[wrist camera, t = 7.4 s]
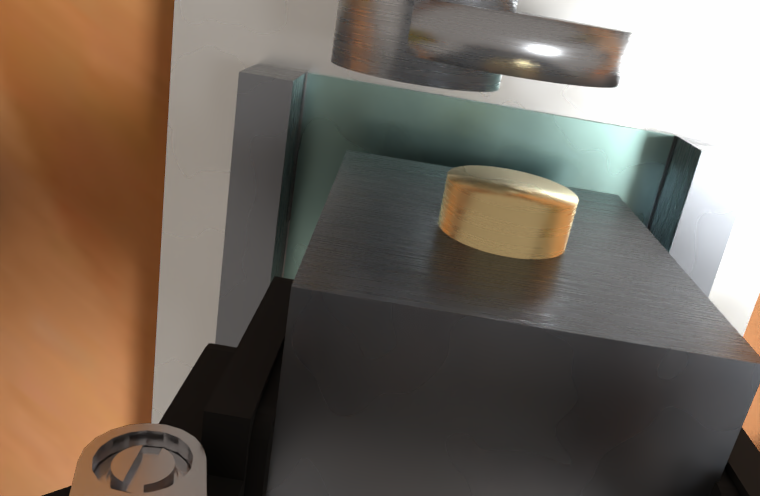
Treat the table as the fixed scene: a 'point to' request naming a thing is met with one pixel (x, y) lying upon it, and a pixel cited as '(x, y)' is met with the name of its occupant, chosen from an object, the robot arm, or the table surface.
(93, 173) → the table surface
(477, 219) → the block
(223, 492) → the robot arm
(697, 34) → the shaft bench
